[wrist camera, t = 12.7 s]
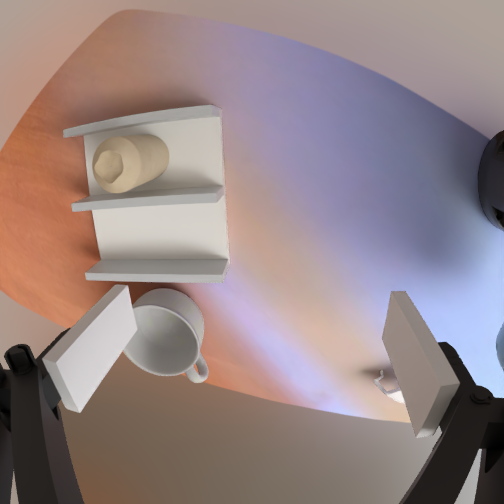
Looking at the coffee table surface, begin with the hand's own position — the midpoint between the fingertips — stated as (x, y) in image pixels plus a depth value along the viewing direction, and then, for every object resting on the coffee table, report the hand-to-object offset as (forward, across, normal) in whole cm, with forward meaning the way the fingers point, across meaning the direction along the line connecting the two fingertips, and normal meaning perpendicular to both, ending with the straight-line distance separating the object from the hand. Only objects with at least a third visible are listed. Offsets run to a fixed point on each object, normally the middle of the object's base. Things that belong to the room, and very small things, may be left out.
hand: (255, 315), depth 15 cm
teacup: (+24, +14, +16) cm, 32 cm away
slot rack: (+24, +15, -2) cm, 28 cm away
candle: (+23, +15, -7) cm, 28 cm away
